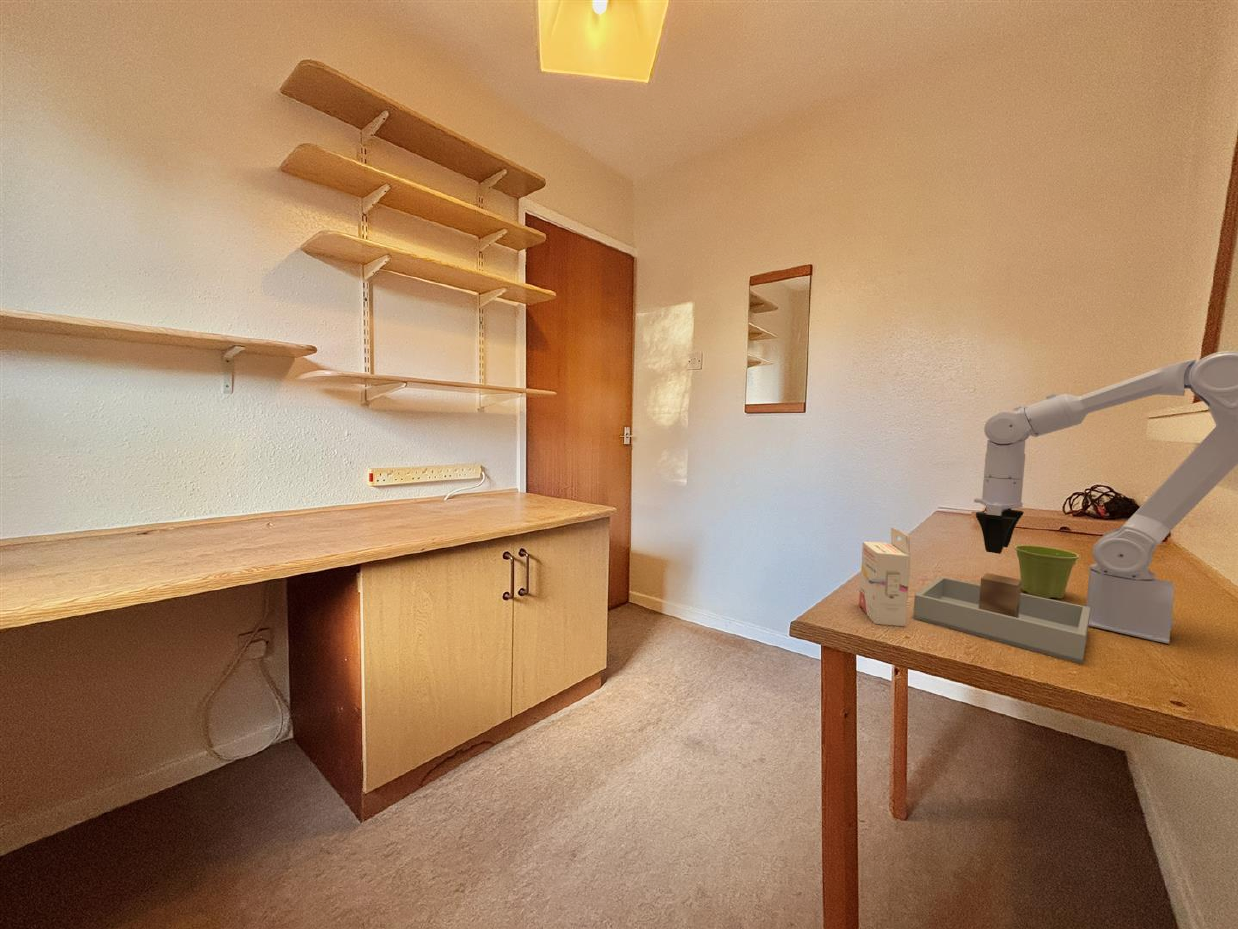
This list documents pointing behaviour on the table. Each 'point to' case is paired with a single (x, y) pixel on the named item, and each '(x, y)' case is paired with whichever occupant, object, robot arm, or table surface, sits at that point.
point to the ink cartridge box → (886, 579)
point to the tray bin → (1007, 619)
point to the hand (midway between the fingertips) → (997, 549)
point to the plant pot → (1045, 570)
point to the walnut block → (1000, 594)
